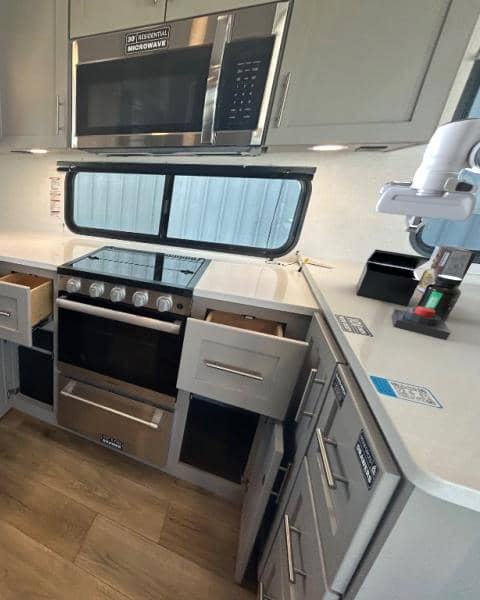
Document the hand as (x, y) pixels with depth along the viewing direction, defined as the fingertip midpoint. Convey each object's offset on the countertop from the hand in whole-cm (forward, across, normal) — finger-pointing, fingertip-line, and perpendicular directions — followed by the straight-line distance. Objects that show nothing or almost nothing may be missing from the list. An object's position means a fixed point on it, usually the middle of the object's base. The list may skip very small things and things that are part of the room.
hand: (410, 232), depth 99 cm
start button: (+18, +7, -21) cm, 29 cm away
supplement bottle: (+22, +11, -7) cm, 26 cm away
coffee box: (+22, +15, +23) cm, 35 cm away
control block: (+22, +7, -21) cm, 31 cm away
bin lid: (+10, 0, +5) cm, 11 cm away
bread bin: (+22, 0, +5) cm, 22 cm away
